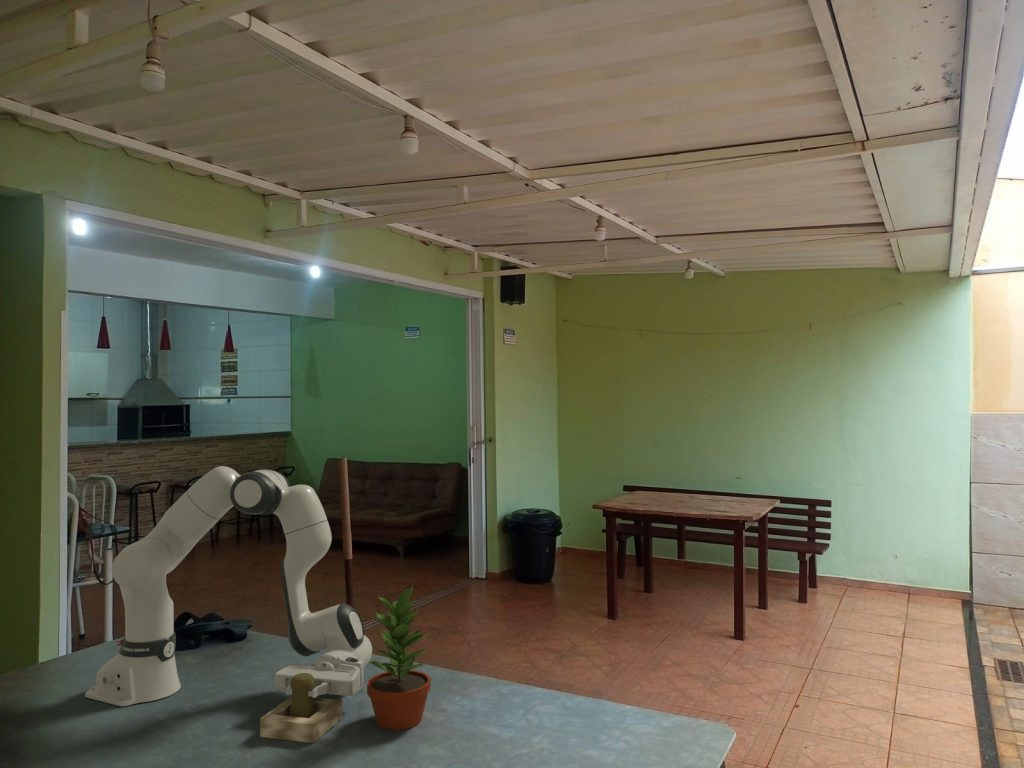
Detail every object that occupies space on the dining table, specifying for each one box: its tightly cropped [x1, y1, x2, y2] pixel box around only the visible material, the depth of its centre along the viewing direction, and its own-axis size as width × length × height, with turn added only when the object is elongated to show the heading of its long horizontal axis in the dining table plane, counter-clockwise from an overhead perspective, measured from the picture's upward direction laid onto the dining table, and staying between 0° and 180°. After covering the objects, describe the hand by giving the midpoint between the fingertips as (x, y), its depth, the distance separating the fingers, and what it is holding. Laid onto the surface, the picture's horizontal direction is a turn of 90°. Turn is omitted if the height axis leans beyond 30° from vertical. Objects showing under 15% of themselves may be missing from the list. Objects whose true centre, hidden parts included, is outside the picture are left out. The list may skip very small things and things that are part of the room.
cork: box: [290, 673, 315, 718], centre depth 166 cm, size 6×6×11 cm
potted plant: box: [366, 585, 432, 731], centre depth 169 cm, size 15×15×30 cm
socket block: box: [259, 695, 344, 744], centre depth 166 cm, size 13×13×4 cm
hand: (300, 693), depth 165 cm, fingers closed on cork, 4 cm apart
